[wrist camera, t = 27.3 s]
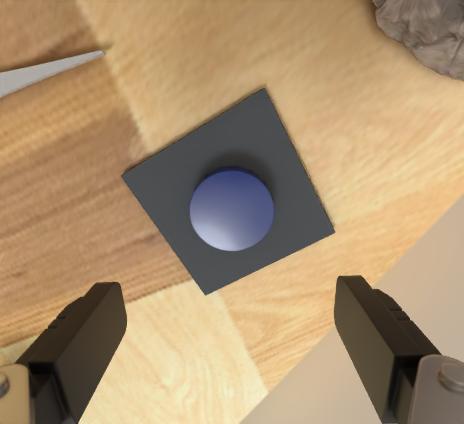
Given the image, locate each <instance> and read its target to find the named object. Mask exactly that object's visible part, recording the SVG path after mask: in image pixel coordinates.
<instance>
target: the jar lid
mask: <svg viewBox="0 0 464 424" xmlns="http://www.w3.org/2000/svg"><path fill="white" fill-rule="evenodd" d="M273 200H274V199H273V197H272V195H271V194H270V192H269V189H268V187H267V186H266V182H265V181H263V180H262V179H261V178H260V177H259V176H258V175H257V174H256V173H254V172H253V170H249V169H246V168H243V167H238V165H236V166H226V167H220V168H218V169H216V170H213V171H212V172H210V173H209V174H206V175H205V176H204V178H203V179H202V180H201V181H200V183H199V184H198V186H196V187H195V189H194V193H193V195H192V198H191V201H190V205H189V214H190V220H191V223H192V226H193V228H194V230H195V231H196V233H197V234H198V236H199V237H200V238H201V239H202V240H203V241H205V242H206V243H207V244H209V245H211V246H213V247H215V248H217V249H220V250H225V251H239V250H244V249H247V248H249V247H252V246H254V245H255V244H257V243H258V242H260V241H261V240H262V239H263V238H264V237H265V236H266V234H267V233H268V231H269V230H270V228H271V226H272V223H273V219H274V203H273Z"/></svg>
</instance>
